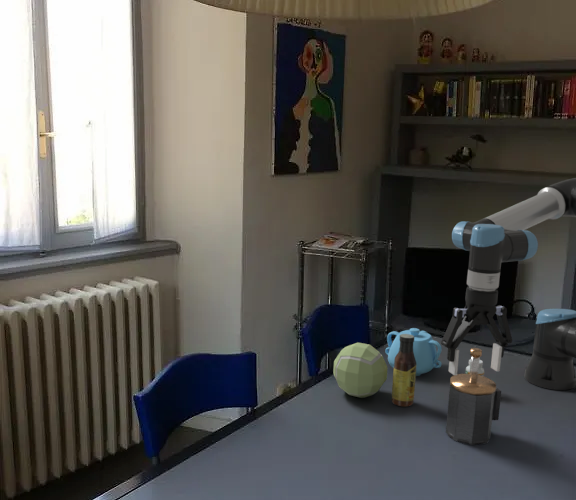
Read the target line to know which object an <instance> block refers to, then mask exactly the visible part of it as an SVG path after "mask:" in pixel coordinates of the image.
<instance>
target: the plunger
mask: <svg viewBox="0 0 576 500" xmlns="http://www.w3.org/2000/svg"><path fill="white" fill-rule="evenodd" d="M469 350H470V351H469V355H470V356H471V357H470V359H471V366H470V374H466V373H457V375H452V376H451V377H450V380H449V386H450V385H451V386H452V387H453V388H454V389H456V390H458V391H460V392H463V393H467V394H473V395H489V394H492V393H494V392H495V391H496V389H497V383H496V382H495V381H494V380H492V379H491V378H488V377H486V376H484V377H483V376H480V375H478V370H479V360H481V359H480V357H482V355H483V350H482V349H481V348H478V347H471V348H470V349H469Z"/></svg>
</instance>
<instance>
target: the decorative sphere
mask: <svg viewBox="0 0 576 500" xmlns="http://www.w3.org/2000/svg"><path fill="white" fill-rule="evenodd" d="M332 371H333V373H332V374H333V376H334V378H335V381H336V383H337V386H338V387H339V389H341V390H342V391H344V392H345V394H347V395H349V396H351V397H352V396H353V397H357V398H360V399H364V398H367V397H370V396H373V395H375V394H376V393H378V391H380V389H381V388H382V386H383V385H384V384H385V383H386V381H387V380H388V365H387V363H386V360H385V358H384V356H383V355H382V353H380V351H378V350H377V349H376V348H375V347H373V346H372V344H367V343H364V342H363V343H362V342H355V343H353V344H349V345H347V346H344V348H342V349H341V350H340V352H339V353H338V354H337V356H336V358H335V359H334V361H333V370H332Z"/></svg>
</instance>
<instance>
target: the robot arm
mask: <svg viewBox="0 0 576 500" xmlns="http://www.w3.org/2000/svg"><path fill="white" fill-rule="evenodd" d="M562 217H573V218H576V177H573V178H569V179H565V180H561V181H558V182H555V183H552V184H550V185H548V186H546V187H543V188H541V189H540V190H539V191H538V192H537V194H536V195H534V196H532V197H529V198H527V199H525V200H523V201H520V202H518V203H516V204H514V205H512V206H508V207H506V208H505V209H502V210H501V211H498V212H495V213H493V214H490V215H489V216H486V217H484V218H481V219H479V220H477V221H475V222H471V221H468V220H467V221H464V220H463V221H459V222H457V223H456V225H455V226H454V227H453V229H452V232H451V240H452V243H453V245H454V246H455V247H456V248H458V249H462V250H464V251H468V252H469V258H468V268H467V275H466V285H467V287H466V289H465V290H466V291H465V298H464V299H465V306H464V308H458V307H454V308H453V310H452V317H451V319H450V321H449V323H448V326H447V328H446V330H445V333H444V334H443V337H442V340H441V341H440V345H441V346H444V347H445V348H447V354H446V359H447V361H448V362H449V363H448V372H449V373H450V374H452V376H454V375H457V374H458V368H459V359H460V357H459V356H460V349H458V347H459V345H460V344H461V343H462V341H464V339H465V337H466V336H467V334H468V333H469V331H470V330H471V329H473V328H474V327H475V326H481V325H483V326H487V328H488V330H489V331H490V334H491V335H492V337H493V338H494V340H495V342H496V343H495V342H493V343H492V351H491V360H490V361H491V363H490V369H492V370H493V371H495V372H501V361H502V358H504V355H505V348H507V347H508V346H509V344H512V343H513V338H512V332H511V329H510V325H509V321H508V317H507V313H508V308H507V307H505V306H504V305H503V306H502V305H500V304H499V305H497V304H498V298H499V297H498V296H499V290H498V288H499V286H500V276H501V269H502V268H501V267H502V263H508V262H521V261H524V260H529V259H531V258H533V257H534V256H535V255H536V254H537V251H538V248H539V242H538V239H537V236H536V235H535V234H534V233H533V232H531V231H530V230H527V229H529V228H531V227H534V226H536V225H538V224H540V223H543V222H544V221H547V220H557V219H559V218H562ZM495 314H496V319H497V322H496V321H495V319H494V316H495ZM497 323H498V326H499V327H498V326H497ZM532 350H533V351H532V355H531V357H530V358H529V362H528V365H527V366H526V367H525V369H524V376H523V377H524V379H525V380H526V381H527V382H529V383H530V384H532V385H534V386H536V387H540V388H544V389H548V390H555V391H556V390H557V391H567V390H568V391H569V390H572V389H574V388H575V387H576V371H575V365H574V360H573V359H576V310H574V309H567V308H545V309H542V310H540V311H539V312H538V313H537V317H536V321H535V331H534V340H533V348H532Z"/></svg>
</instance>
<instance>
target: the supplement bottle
mask: <svg viewBox="0 0 576 500" xmlns="http://www.w3.org/2000/svg"><path fill="white" fill-rule="evenodd" d="M470 366H471V358H470V359H468V365H467V366H466V367H465V374H470ZM483 366H484V362H483V360H481V359H480V360H479V370H478V375H480V376H483V377H485V368H484V367H483Z"/></svg>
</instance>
